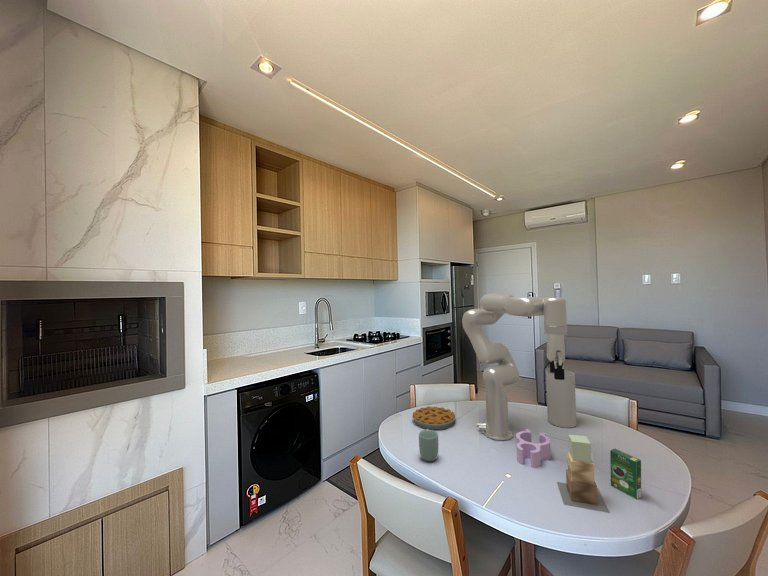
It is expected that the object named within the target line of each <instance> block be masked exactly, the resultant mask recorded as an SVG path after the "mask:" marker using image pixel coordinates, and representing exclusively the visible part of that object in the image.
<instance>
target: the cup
mask: <svg viewBox="0 0 768 576" xmlns="http://www.w3.org/2000/svg"><path fill="white" fill-rule="evenodd" d="M418 447H419V449H418V450H419V455H420V457H421V459H422V460H423V461H426V462H433V461H435V460H437V458H438V454H439V433H438V432H437V430H432V429H422V430H420V431H419V433H418Z"/></svg>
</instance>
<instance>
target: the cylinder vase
mask: <svg viewBox="0 0 768 576" xmlns="http://www.w3.org/2000/svg"><path fill="white" fill-rule="evenodd" d="M575 375H576V374H575V373H574V372H573V371H569V370H565V369H564V376H565V379H564V380H556V379H555V378H554V373H551V372H550V369H548V370H546V371H545V376H546V377H545V383H546V403H547V404H546V407H547V408H546V410H547V411H546V412H547V415H546V417H547V421H548V423H550V424H551V425H553V426H554V427H558V428H564V429H565V428H567V429H568V428H569V429H571V428H574V427H576V426H577V403H576V400H577V399H576V380H575V379H576V376H575Z"/></svg>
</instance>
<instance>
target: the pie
mask: <svg viewBox="0 0 768 576" xmlns="http://www.w3.org/2000/svg"><path fill="white" fill-rule="evenodd" d="M411 416H412V417H411V418H413V421H414V423H415V424H416V425H417V426H419V427H421V428H423V429H426V430H433V431H439V430H445V429H447V428H450V427H451V426H452V425H453V423H454V421H455V420H456V414H455V412H454V411H451V409H446V408H444V407H442V406H441V407H438V406H431V405H429V406H426V407H420V408H418V409H416V410H415V411H413V413H412V415H411Z"/></svg>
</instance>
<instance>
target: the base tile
mask: <svg viewBox="0 0 768 576" xmlns="http://www.w3.org/2000/svg"><path fill="white" fill-rule="evenodd" d="M556 485H557V487H558V491H559V494H560V497H561V500H562V503H563V505H564V506H568V507H569V506H570V507H576V508H581V509H586V510H593V511H597V512H601V513H602V512H603V513H609V514H611V511H610V509H609V507H608V506H607V504H606V501H605V500H604V497H603V496H602V494H601V492H600V490H599V487H597V500H598V506H597V505H592V504H586V503H580V502H575V501H571V499H570V496H569V493H568V490H567V484H566V482H560V481H556Z"/></svg>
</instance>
